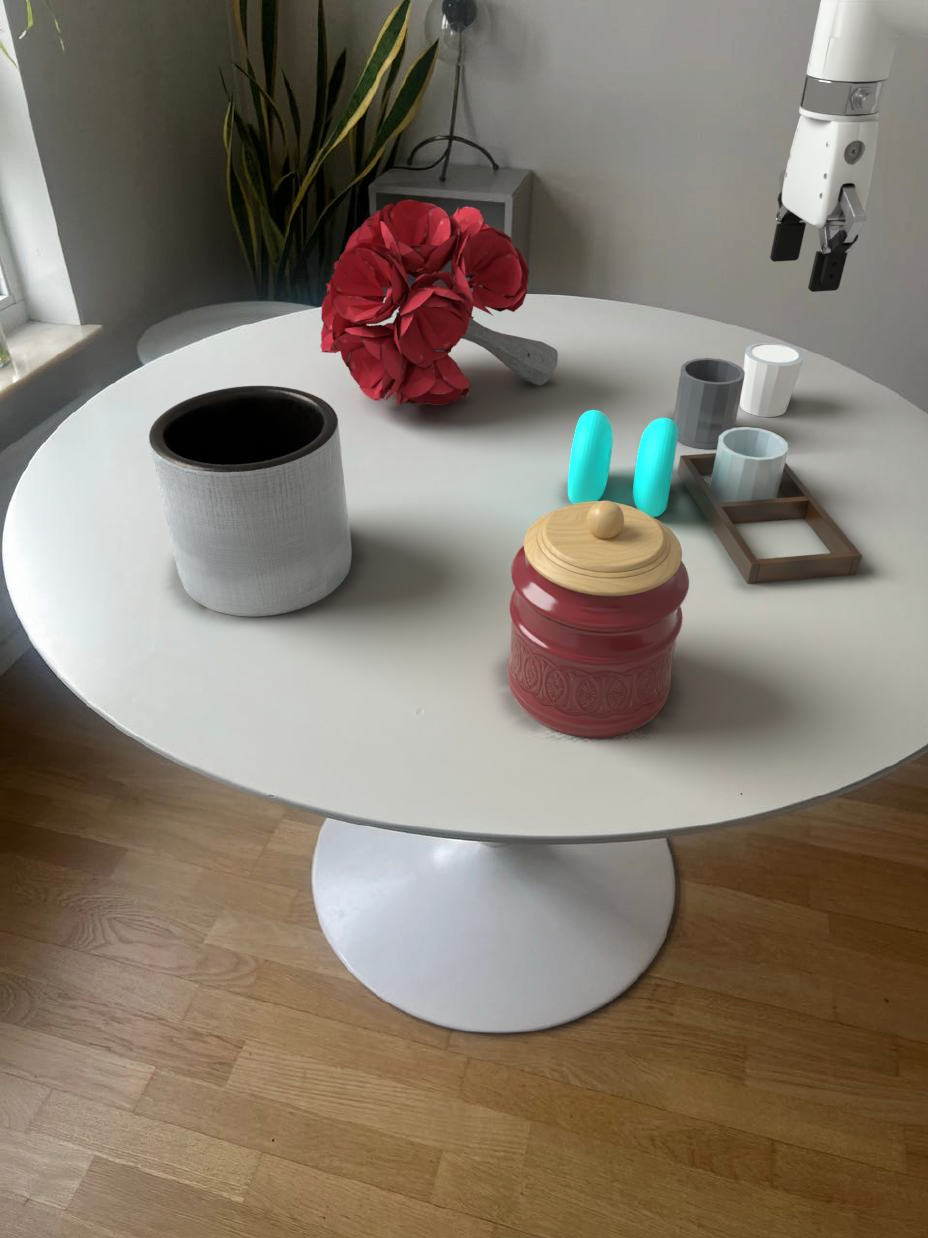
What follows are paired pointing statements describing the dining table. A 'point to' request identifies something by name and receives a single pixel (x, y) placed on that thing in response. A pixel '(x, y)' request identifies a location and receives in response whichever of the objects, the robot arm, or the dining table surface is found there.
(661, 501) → the cyan rounded forked piece
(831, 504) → the dining table surface
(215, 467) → the planter
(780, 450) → the glass
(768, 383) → the white cup
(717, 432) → the grey cup
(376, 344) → the bouquet
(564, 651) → the kitchen canister
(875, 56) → the robot arm
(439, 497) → the dining table surface
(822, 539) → the glass rack
